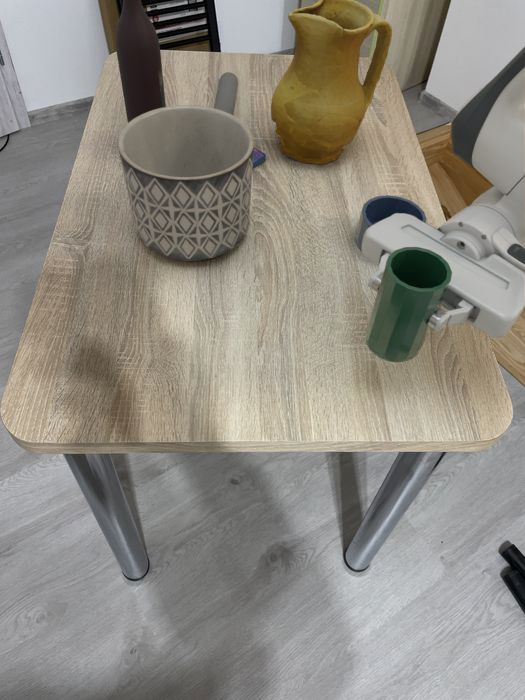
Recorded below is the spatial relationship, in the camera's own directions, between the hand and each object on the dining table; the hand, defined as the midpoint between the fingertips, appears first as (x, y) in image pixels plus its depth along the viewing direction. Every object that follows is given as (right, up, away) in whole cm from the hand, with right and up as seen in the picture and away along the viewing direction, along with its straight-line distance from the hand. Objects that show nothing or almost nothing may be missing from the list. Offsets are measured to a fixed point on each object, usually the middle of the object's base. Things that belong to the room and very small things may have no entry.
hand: (403, 305), depth 60 cm
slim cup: (0, -4, +6) cm, 7 cm away
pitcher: (-5, +35, +47) cm, 58 cm away
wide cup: (+5, +13, +30) cm, 33 cm away
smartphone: (-22, +29, +41) cm, 55 cm away
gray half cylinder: (-24, +48, +56) cm, 78 cm away
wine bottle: (-37, +32, +43) cm, 65 cm away
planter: (-27, +15, +30) cm, 43 cm away
